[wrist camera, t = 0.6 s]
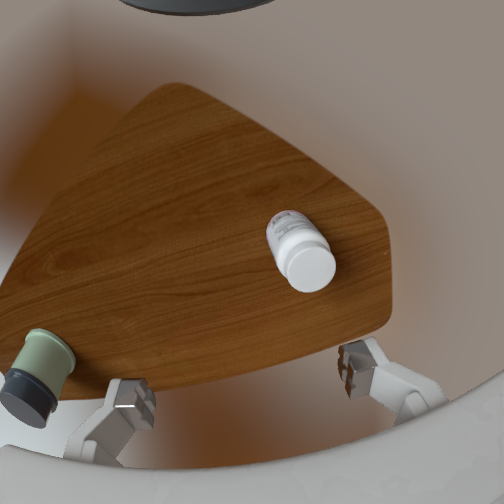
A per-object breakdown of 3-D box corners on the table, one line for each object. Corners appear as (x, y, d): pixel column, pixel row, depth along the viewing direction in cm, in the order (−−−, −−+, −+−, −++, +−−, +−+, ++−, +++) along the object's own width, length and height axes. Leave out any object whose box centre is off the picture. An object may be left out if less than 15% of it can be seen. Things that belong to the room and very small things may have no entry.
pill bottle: (305, 255, 31) (330, 299, 24) (261, 249, 31) (275, 295, 23) (315, 212, 29) (348, 247, 22) (270, 205, 29) (289, 239, 21)
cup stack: (19, 326, 32) (-17, 382, 21) (63, 330, 33) (30, 396, 22) (40, 368, 36) (15, 423, 25) (83, 374, 36) (61, 437, 26)
